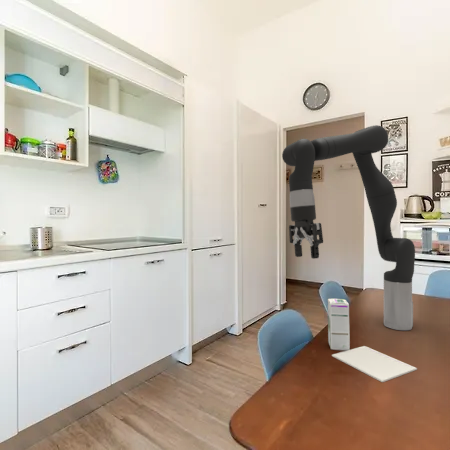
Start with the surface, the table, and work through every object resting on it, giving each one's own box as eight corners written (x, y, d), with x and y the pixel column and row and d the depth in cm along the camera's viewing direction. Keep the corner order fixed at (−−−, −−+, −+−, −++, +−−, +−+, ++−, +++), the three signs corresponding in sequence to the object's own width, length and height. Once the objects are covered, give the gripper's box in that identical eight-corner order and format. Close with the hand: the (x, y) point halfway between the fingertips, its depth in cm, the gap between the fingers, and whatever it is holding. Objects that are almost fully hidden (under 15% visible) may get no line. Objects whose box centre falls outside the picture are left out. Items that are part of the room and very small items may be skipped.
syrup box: (350, 351, 90) (350, 303, 90) (329, 349, 91) (329, 302, 91) (346, 343, 95) (346, 298, 95) (327, 342, 97) (327, 297, 97)
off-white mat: (364, 347, 93) (364, 345, 93) (416, 369, 79) (416, 368, 79) (331, 356, 87) (331, 354, 87) (382, 382, 72) (382, 380, 72)
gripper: (327, 202, 87) (331, 257, 87) (299, 207, 100) (303, 255, 100) (305, 203, 84) (310, 260, 84) (280, 208, 98) (284, 257, 97)
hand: (306, 257), depth 92 cm, fingers open, 8 cm apart
